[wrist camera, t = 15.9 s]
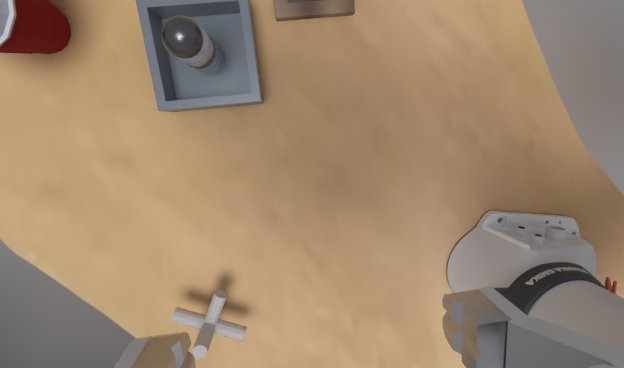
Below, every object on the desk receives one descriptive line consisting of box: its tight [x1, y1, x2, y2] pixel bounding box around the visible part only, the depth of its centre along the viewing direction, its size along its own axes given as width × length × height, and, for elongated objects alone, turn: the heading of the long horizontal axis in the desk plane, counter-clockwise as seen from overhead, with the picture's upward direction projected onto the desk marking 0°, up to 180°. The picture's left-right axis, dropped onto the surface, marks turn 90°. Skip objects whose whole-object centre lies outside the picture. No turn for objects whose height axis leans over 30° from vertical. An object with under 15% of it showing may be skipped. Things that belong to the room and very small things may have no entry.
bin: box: [136, 0, 264, 112], centre depth 36 cm, size 12×12×5 cm
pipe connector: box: [171, 290, 247, 359], centre depth 41 cm, size 10×10×10 cm
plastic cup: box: [0, 0, 70, 54], centre depth 31 cm, size 11×11×12 cm
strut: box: [162, 15, 226, 75], centre depth 32 cm, size 4×4×12 cm
